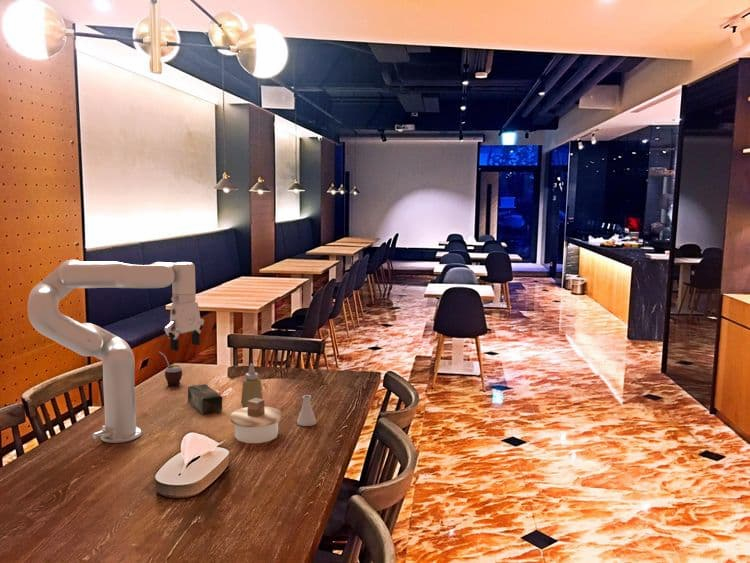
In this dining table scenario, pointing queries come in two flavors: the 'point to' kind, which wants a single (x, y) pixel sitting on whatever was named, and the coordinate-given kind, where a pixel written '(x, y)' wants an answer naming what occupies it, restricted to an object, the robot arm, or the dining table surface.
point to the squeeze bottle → (251, 386)
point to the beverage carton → (204, 399)
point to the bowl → (256, 433)
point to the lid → (255, 414)
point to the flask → (306, 413)
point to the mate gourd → (172, 374)
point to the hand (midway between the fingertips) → (185, 347)
